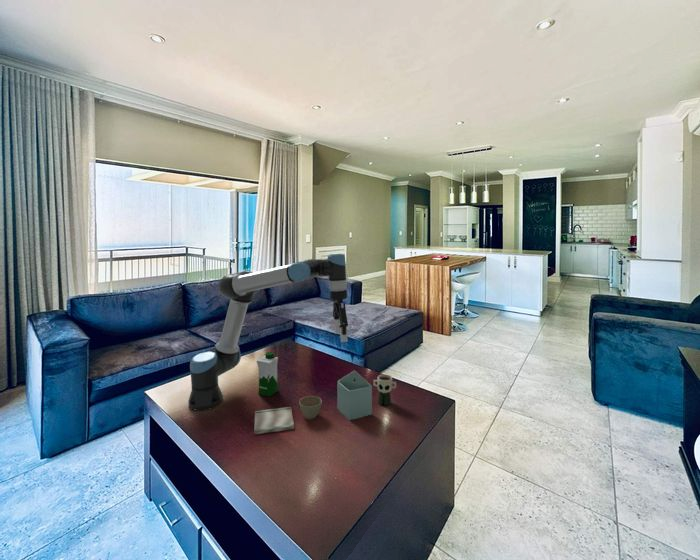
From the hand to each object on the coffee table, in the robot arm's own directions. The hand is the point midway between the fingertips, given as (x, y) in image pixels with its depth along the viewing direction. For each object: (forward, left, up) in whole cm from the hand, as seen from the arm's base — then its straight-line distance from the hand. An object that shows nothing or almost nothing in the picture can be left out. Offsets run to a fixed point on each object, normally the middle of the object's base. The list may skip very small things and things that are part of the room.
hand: (340, 337), depth 146 cm
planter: (+4, -4, -36) cm, 36 cm away
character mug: (+22, +3, -36) cm, 42 cm away
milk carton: (-32, +28, -36) cm, 55 cm away
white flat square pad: (-30, 0, -35) cm, 46 cm away
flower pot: (-14, 0, -36) cm, 38 cm away
